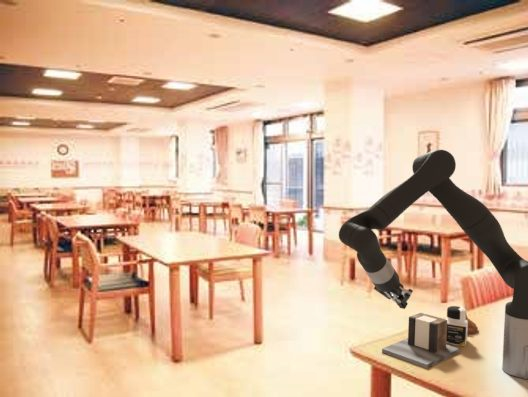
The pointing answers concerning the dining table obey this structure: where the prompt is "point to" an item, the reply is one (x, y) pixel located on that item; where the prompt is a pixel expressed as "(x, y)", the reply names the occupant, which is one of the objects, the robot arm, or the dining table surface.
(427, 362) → the u-shaped block stand
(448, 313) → the medicine bottle
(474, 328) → the bell
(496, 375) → the dining table surface
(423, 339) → the peg
